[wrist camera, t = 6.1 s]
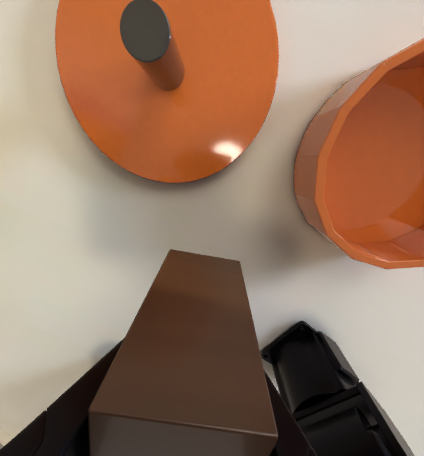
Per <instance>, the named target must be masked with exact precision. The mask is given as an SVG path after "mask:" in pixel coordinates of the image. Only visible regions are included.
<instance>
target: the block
mask: <svg viewBox="0 0 424 456" xmlns="http://www.w3.org/2000/svg"><path fill="white" fill-rule="evenodd" d="M88 425H89V448H90V456H270V454H271V452H272V450H273V448H274V446H275V444H276V441H277V439H278V432H277V427H276V423H275V418H274V414H273V409H272V405H271V400H270V396H269V391H268V387H267V382H266V378H265V373H264V369H263V364H262V360H261V355H260V351H259V346H258V342H257V337H256V333H255V328H254V324H253V319H252V315H251V310H250V306H249V301H248V297H247V292H246V288H245V283H244V279H243V274H242V270H241V265H240V261H236V260H230V259H224V258H218V257H212V256H206V255H200V254H195V253H189V252H183V251H177V250H170V251H169V252H168V254H167V256H166V258H165V260H164V262H163V264H162V266H161V268H160V270H159V272H158V274H157V276H156V278H155V280H154V282H153V284H152V286H151V288H150V290H149V292H148V294H147V296H146V297H145V299H144V301H143V303H142V305H141V307H140V309H139V311H138V313H137V315H136V317H135V319H134V321H133V323H132V325H131V327H130V329H129V331H128V333H127V335H126V337H125V339H124V341H123V342H122V344H121V346H120V348H119V350H118V352H117V354H116V356H115V358H114V360H113V362H112V364H111V366H110V368H109V370H108V372H107V374H106V376H105V378H104V380H103V382H102V384H101V386H100V387H99V389H98V391H97V393H96V395H95V397H94V399H93V401H92V403H91V405H90V407H89V409H88Z"/></svg>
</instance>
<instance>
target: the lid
mask: <svg viewBox="0 0 424 456" xmlns="http://www.w3.org/2000/svg"><path fill="white" fill-rule="evenodd" d="M55 37H56V55H57V63H58V69H59V73H60V78H61V82H62V85H63V88H64V91H65V94H66V97H67V100H68V102H69V104H70V106H71V109H72V111H73V113H74V115H75V117H76V118H77V120H78V122H79V123H80V125H81V127H82V128H83V130H84V131H85V132H86V134H87V135H88V136H89V138H90V139H91V140H92V141H93V143H94V144H95V145H96V146H97V147H98V148H99V149H100V150H101V151H102V152H103V153H104V154H105V155H106V156H108V157H109V158H110V159H111V160H112V161H114V162H115V163H117V164H118V165H119V166H121V167H122V168H124V169H126V170H128V171H130V172H132V173H134V174H136V175H138V176H141V177H144V178H146V179H150V180H154V181H159V182H168V183H183V182H189V181H195V180H198V179H202V178H205V177H208V176H210V175H212V174H214V173H216V172H218V171H220V170H221V169H223V168H225V167H226V166H228V165H229V164H230V163H232V162H233V161H234V160H235V159H236V158H238V157H239V156H240V155H241V154H242V153H243V152H244V150H245V149H246V148H247V147H248V146H249V145H250V143H251V142H252V141H253V139H254V138H255V137H256V135H257V133H258V132H259V130H260V128H261V126H262V125H263V123H264V121H265V118H266V116H267V113H268V111H269V109H270V106H271V102H272V99H273V96H274V92H275V87H276V81H277V76H278V62H279V51H278V36H277V29H276V22H275V18H274V14H273V10H272V7H271V3H270V0H60V1H59V6H58V10H57V19H56V29H55Z"/></svg>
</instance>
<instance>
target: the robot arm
mask: <svg viewBox="0 0 424 456" xmlns="http://www.w3.org/2000/svg"><path fill="white" fill-rule="evenodd" d="M301 326H302V327H301ZM124 339H125V338H124ZM124 339H123V340H122V341H120V342H119V343H118V344H117V345H116V346H115V347H114V348H113V349H112V350H111V351H109V352H108V353H107V354H106V355H105V356H104V357H103V358H102V359H101V360H100V361H99V362H97V363H96V364H95V365H94V366H93V367H92V368H91V369H90V370H89V371H88V372H86V373H85V374H84V375H83V376H82V377H81V378H80V379H79V380H78V381H77V382H75V383H74V384H73V385H72V386H71V387H70V388H69V389H68V390H67V391H66V392H65V393H63V394H62V395H61V396H60V397H59V398H58V399H57V400H56V401H55V402H54V403H52V404H51V405H50V406H49V407H48V408H47V411H43V412H42V413H41V414H40V415H39V416H38V417H37V418H36V419H35V420H34V421H33V422H31V423H30V424H29V425H28V426H27V427H26V428H25V429H24V430H22V431H21V432H20V433H19V434H18V435H17V436H16V437H14V438H13V439H12V440H11V441H10V442H9V443H7V444H6V445H5V446H4V447H3V448H2V449H0V456H90V448H89V425H88V409H89V407H90V405H91V403H92V401H93V399H94V397H95V395H96V393H97V391H98V389H99V387H100V386H101V384H102V382H103V380H104V378H105V376H106V374H107V372H108V370H109V368H110V366H111V364H112V362H113V360H114V358H115V356H116V354H117V352H118V350H119V348H120V346H121V344H122V342H123V341H124ZM261 356H262V358H263V359H264V360H266V361H267V362H269V363H270V364H272V366H273V370H274V374H275V378H276V381H277V385H278V389H279V393H280V394H279V393H278V391H277V390H276V388H275V386H274V385H273V383H272V381H271V380H270V378H269V377H268V375H267V373H266V372H265V370H264V373H265V378H266V382H267V387H268V391H269V396H270V400H271V405H272V409H273V414H274V418H275V423H276V427H277V432H278V439H277V441H276V444H275V446H274V448H273V450H272V452H271V454H270V456H414V454H413V453H412V451H411V449H410V447H409V446H408V444H407V443H406V441H405V440H404V438H403V437H402V435H401V434H400V433H399V431H398V430H397V428H396V427H395V425H394V424H393V422H392V421H391V419H390V418H389V416H388V415H387V413H386V412H385V411H384V409H383V408H382V407H381V405H380V404H379V403H378V402H377V400H376V399H375V398H374V397H373V395H372V394H371V393H370V392H369V390H368V389H367V388H366V387H365V385H364V384H363V383H362V382H359V378H358V377H357V375H356V374H355V372H354V371H353V369H352V368H351V366H350V364H349V363H348V361H347V360H346V358H345V357H344V355H343V354H342V352H341V350H340V349H339V347H338V346H337V344H336V343H335V342H334V341H333V340H331V339H330V338H329V337H327V336H326V335H325V334H324V333H322V332H320V331H318V332H317V331H316V330H315V329H313V328H312V327H311V326H310V325H308V324H307V323H306V322H304V321H300V322H298V323H297V324H296V325H294V326H293V327H292V328H291V329H289V330H288V331H287V332H286V333H284V334H283V335H282V336H280V337H279V338H278V339H277V340H275V341H274V342H273V343H272V344H270V345H269V346H268V347H267V348H265V349H264V350H263V351H262V352H261ZM263 369H264V368H263Z"/></svg>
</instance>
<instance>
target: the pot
mask: <svg viewBox="0 0 424 456" xmlns="http://www.w3.org/2000/svg"><path fill="white" fill-rule="evenodd" d="M294 188H295V195H296V199H297V202H298V205H299V208H300V210H301V212H302V214H303V216H304V217H305V219H306V221H307V222H308V223H309V224H310V225H311V226H312V227H313V228H314V229H315V230H316V231H317V232H319V233H320V234H321V235H322V236H323V237H324V238H325V239H326V240H327V241H329V242H330V243H331V244H333V245H334V246H335V247H337V248H338V249H340V250H341V251H342V252H344V253H345V254H346V255H348V256H349V257H350V258H352V259H354V260H358V261H361V262H364V263H368V264H371V265H374V266H377V267H381V268H384V269H396V268H411V267H424V38H423V39H421V40H420V41H418V42H416V43H414V44H412V45H411V46H409V47H407V48H405V49H403V50H402V51H400V52H398V53H396V54H395V55H393V56H391V57H389V58H387V59H386V60H384V61H382V62H380V63H379V64H377V65H375V66H373V67H372V68H370V69H368V70H367V71H365V72H363V73H361V74H360V75H358V76H356V77H355V78H353V79H351V80H349V81H348V82H346V83H345V84H344V85H343V86H342V87H341V88H340V89H339V90H338V91H337V92H335V93H334V94H333V95H332V96H331V97H330V98H329V99H328V100H327V101H326V102H325V104H324V105H323V106H322V107H321V109H320V110H319V111H318V112H317V114H316V115H315V117H314V118H313V120H312V121H311V123H310V124H309V126H308V128H307V130H306V132H305V134H304V136H303V138H302V141H301V144H300V146H299V149H298V153H297V157H296V161H295V168H294Z"/></svg>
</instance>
